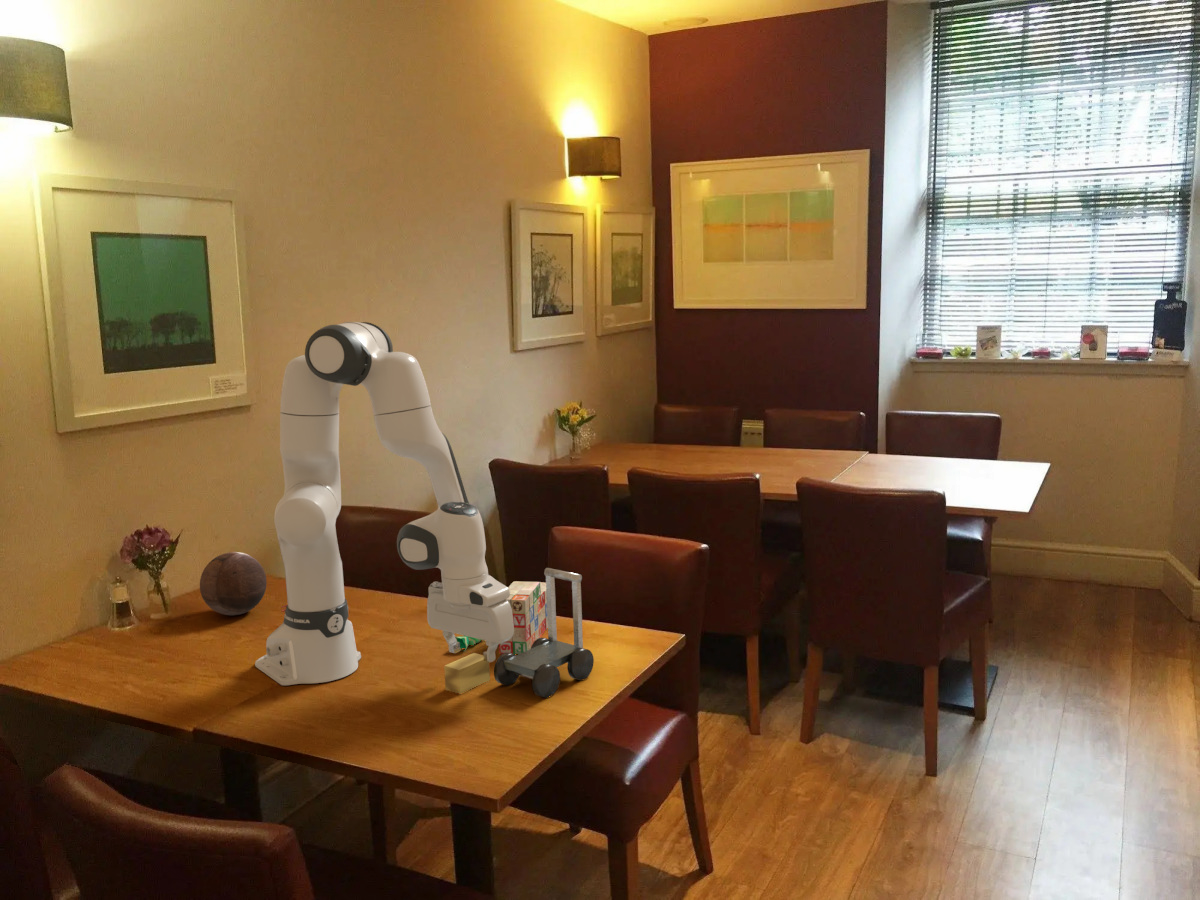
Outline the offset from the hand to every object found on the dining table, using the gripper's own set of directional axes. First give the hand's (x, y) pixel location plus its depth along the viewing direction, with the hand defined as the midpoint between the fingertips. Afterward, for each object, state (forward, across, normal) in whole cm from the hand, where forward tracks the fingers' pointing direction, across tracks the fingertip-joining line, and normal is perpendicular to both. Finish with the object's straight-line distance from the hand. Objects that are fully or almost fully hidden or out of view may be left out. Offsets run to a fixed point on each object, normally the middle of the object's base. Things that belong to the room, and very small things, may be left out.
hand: (472, 656), depth 193 cm
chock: (+6, -1, -1) cm, 6 cm away
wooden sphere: (+4, -79, -1) cm, 79 cm away
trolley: (+6, +10, +9) cm, 15 cm away
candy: (+6, -16, +17) cm, 24 cm away
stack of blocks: (+6, -9, +25) cm, 28 cm away
